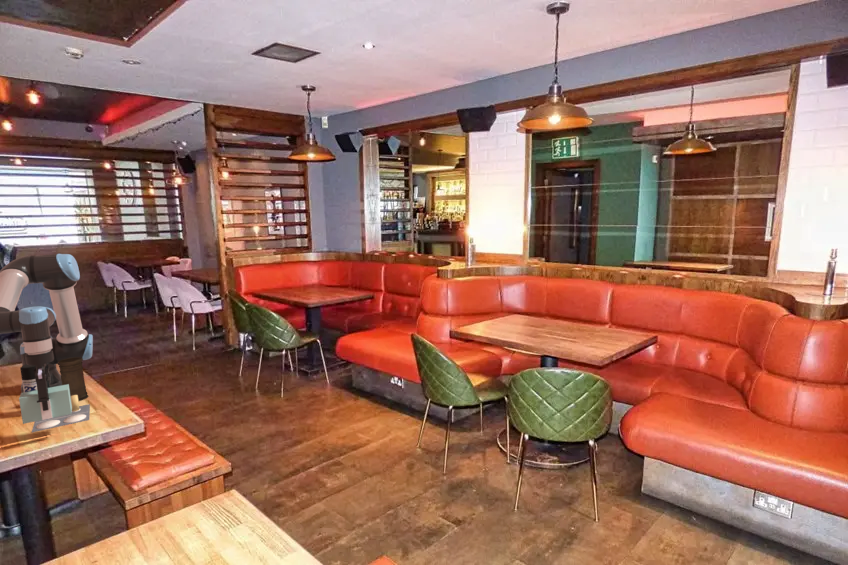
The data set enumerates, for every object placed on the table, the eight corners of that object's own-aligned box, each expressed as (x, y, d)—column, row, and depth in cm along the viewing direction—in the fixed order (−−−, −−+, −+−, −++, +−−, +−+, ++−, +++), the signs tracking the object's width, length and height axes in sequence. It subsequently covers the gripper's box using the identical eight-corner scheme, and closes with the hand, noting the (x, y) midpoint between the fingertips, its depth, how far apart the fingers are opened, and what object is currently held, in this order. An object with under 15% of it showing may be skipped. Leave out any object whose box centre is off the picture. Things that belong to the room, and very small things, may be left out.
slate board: (37, 417, 185) (34, 400, 184) (90, 406, 194) (87, 390, 193) (31, 435, 170) (29, 416, 169) (89, 422, 179) (87, 404, 178)
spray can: (23, 418, 184) (16, 368, 181) (32, 411, 191) (25, 363, 188) (44, 415, 186) (36, 366, 183) (52, 408, 193) (45, 361, 190)
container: (75, 405, 195) (69, 363, 192) (57, 404, 197) (51, 362, 194) (94, 397, 204) (88, 357, 201) (76, 396, 206) (71, 356, 203)
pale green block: (25, 417, 166) (21, 392, 164) (72, 407, 173) (68, 384, 172) (22, 423, 160) (18, 398, 159) (71, 413, 168) (67, 389, 166)
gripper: (28, 347, 169) (37, 408, 173) (21, 360, 153) (31, 427, 157) (54, 343, 173) (63, 403, 177) (50, 356, 157) (59, 421, 161)
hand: (48, 414), depth 167 cm, fingers closed on pale green block, 7 cm apart
